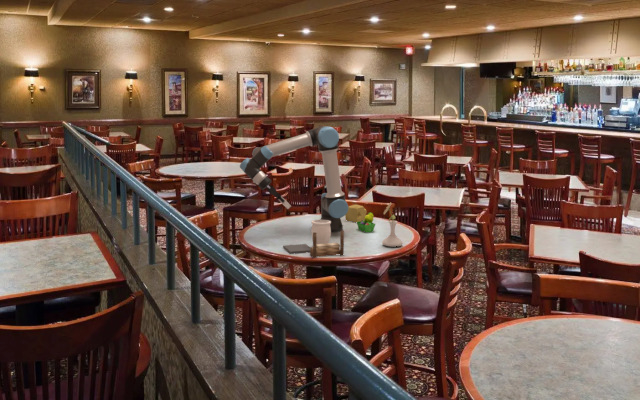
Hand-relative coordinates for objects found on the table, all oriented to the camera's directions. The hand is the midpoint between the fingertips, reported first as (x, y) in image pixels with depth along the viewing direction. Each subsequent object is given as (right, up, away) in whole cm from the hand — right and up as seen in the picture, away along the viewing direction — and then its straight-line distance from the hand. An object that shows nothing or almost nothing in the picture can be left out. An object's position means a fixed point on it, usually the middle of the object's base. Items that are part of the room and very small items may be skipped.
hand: (288, 206), depth 365 cm
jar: (+18, -23, -14) cm, 32 cm away
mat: (+6, -23, -18) cm, 30 cm away
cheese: (+41, -10, +60) cm, 74 cm away
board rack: (+21, -25, -27) cm, 42 cm away
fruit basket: (+46, -15, +30) cm, 57 cm away
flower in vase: (+57, -22, -8) cm, 62 cm away
